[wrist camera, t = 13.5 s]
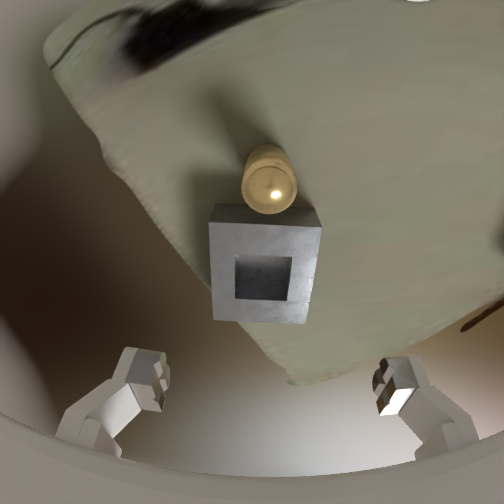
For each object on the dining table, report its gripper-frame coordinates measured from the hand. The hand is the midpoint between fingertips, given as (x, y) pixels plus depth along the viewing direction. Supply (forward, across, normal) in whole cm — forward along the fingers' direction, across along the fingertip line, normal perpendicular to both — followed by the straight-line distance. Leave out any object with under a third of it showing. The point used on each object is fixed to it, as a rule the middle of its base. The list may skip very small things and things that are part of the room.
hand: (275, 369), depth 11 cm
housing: (+27, 0, +12) cm, 30 cm away
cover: (+27, 0, 0) cm, 27 cm away
